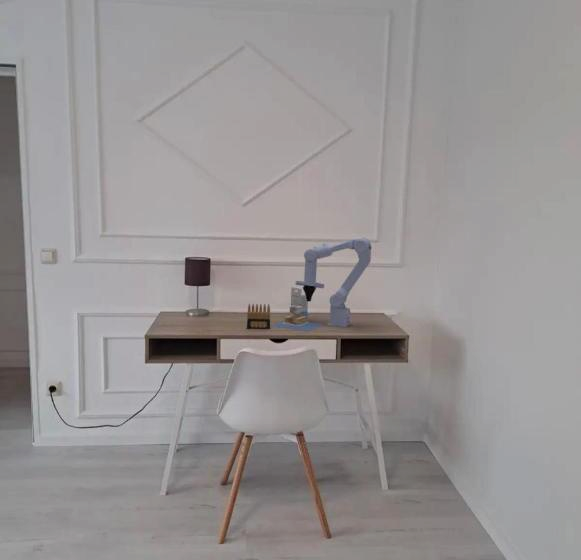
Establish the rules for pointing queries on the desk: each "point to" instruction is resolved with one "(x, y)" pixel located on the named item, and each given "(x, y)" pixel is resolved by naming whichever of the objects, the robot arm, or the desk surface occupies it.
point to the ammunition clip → (258, 317)
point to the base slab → (295, 320)
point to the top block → (295, 311)
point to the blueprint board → (298, 326)
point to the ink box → (299, 300)
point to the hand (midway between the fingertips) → (308, 301)
